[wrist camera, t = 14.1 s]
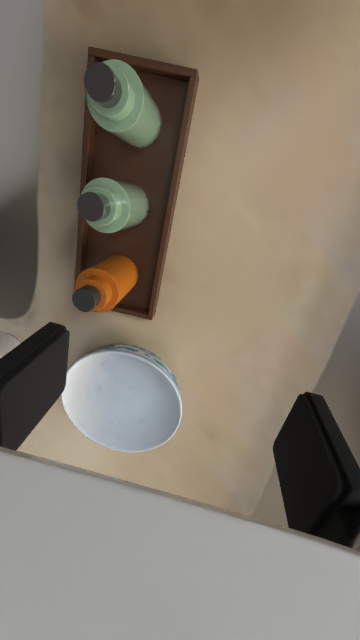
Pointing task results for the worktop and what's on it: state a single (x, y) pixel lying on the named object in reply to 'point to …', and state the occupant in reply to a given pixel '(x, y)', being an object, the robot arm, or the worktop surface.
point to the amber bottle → (105, 284)
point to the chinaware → (123, 398)
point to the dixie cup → (7, 343)
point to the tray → (139, 178)
